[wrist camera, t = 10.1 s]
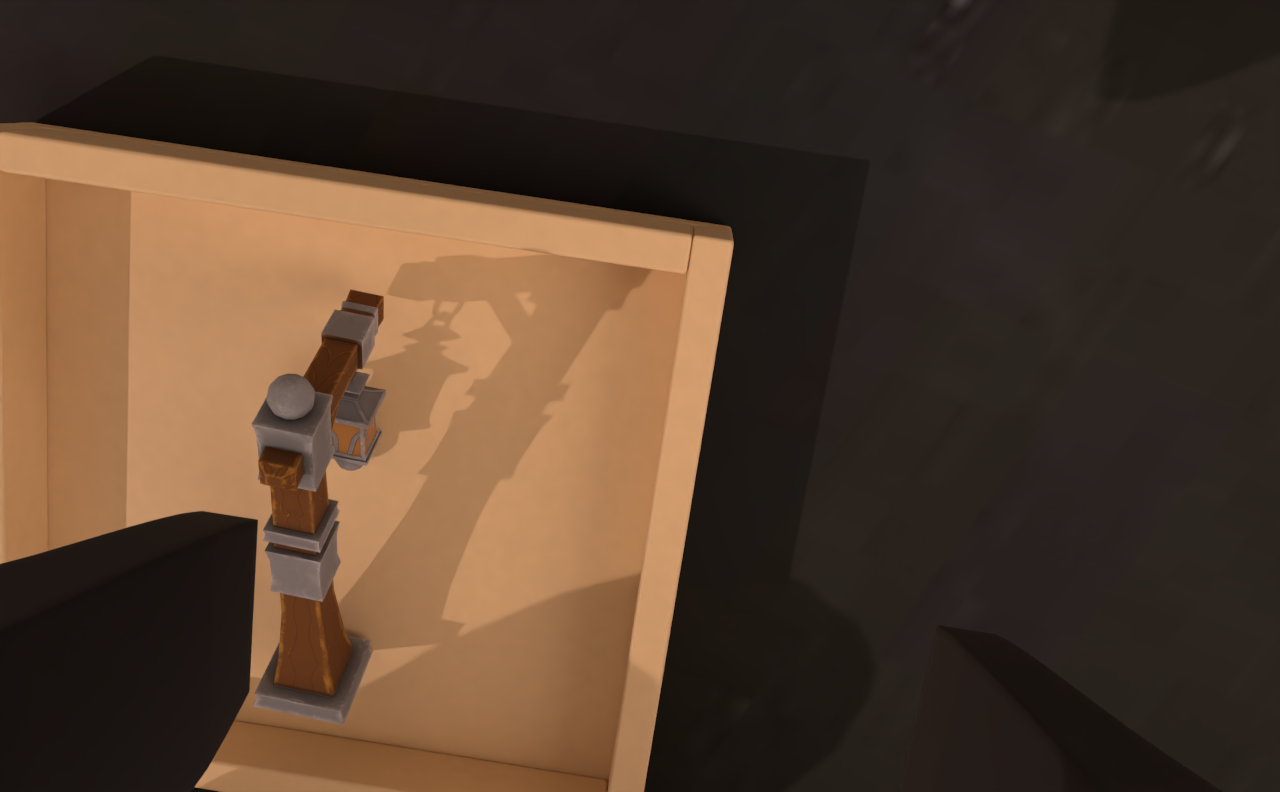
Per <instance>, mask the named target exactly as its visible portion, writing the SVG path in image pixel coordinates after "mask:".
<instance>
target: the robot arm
mask: <svg viewBox="0 0 1280 792" xmlns="http://www.w3.org/2000/svg"><path fill="white" fill-rule="evenodd" d="M257 530H258V520H257V519H251V518H244V517H238V516H231V515H225V514H218V513H212V512H206V511H197V512H189V513H182V514H177V515H173V516H168V517H164V518H160V519H156V520H152V521H149V522H145V523H141V524H138V525H134V526H131V527H127V528H124V529H120V530H117V531H114V532H110V533H107V534H103V535H100V536H97V537H93V538H90V539H86V540H83V541H80V542H76V543H73V544H70V545H66V546H63V547H59V548H56V549H53V550H49V551H46V552H42V553H39V554H36V555H32V556H28V557H25V558H21V559H17V560H13V561H9V562H6V563H2V564H0V792H191V791H192V790H193V788H194V787H195V786H196V784H197V783H198V781H199V780H200V779H201V777H202V776H203V774H204V773H205V772H206V770H207V769H208V767H209V765H210V764H211V762H212V760H213V758H214V757H215V755H216V753H217V751H218V749H219V748H220V746H221V744H222V742H223V741H224V739H225V737H226V735H227V734H228V732H229V730H230V728H231V726H232V724H233V722H234V720H235V718H236V716H237V714H238V713H239V711H240V709H241V707H242V705H243V703H244V701H245V699H246V697H247V695H248V693H249V690H250V670H251V650H252V630H253V610H254V590H255V570H256V550H257ZM898 792H1222V791H1221V790H1219V789H1218V788H1216V787H1215V786H1213V785H1212V784H1210V783H1208V782H1207V781H1205V780H1204V779H1202V778H1201V777H1199V776H1198V775H1196V774H1195V773H1193V772H1192V771H1190V770H1189V769H1187V768H1186V767H1184V766H1183V765H1181V764H1180V763H1178V762H1177V761H1175V760H1174V759H1172V758H1171V757H1169V756H1168V755H1166V754H1165V753H1164V752H1162V751H1161V750H1159V749H1158V748H1156V747H1155V746H1154V745H1152V744H1151V743H1149V742H1148V741H1146V740H1145V739H1144V738H1142V737H1141V736H1139V735H1138V734H1137V733H1135V732H1134V731H1132V730H1131V729H1130V728H1128V727H1127V726H1126V725H1124V724H1123V723H1121V722H1120V721H1119V720H1117V719H1116V718H1115V717H1113V716H1112V715H1111V714H1109V713H1108V712H1106V711H1105V710H1104V709H1102V708H1101V707H1100V706H1098V705H1097V704H1096V703H1094V702H1093V701H1092V700H1090V699H1089V698H1088V697H1086V696H1085V695H1084V694H1082V693H1081V692H1080V691H1078V690H1077V689H1076V688H1074V687H1073V686H1072V685H1070V684H1069V683H1068V682H1066V681H1065V680H1064V679H1062V678H1061V677H1060V676H1058V675H1057V674H1056V673H1054V672H1053V671H1051V670H1050V669H1049V668H1047V667H1046V666H1045V665H1043V664H1042V663H1040V662H1039V661H1038V660H1036V659H1035V658H1033V657H1032V656H1031V655H1029V654H1028V653H1026V652H1025V651H1023V650H1022V649H1020V648H1019V647H1017V646H1016V645H1014V644H1013V643H1011V642H1009V641H1008V640H1006V639H1004V638H1002V637H1000V636H998V635H996V634H989V633H983V632H976V631H970V630H963V629H957V628H951V627H944V626H937V630H936V635H935V639H934V643H933V647H932V651H931V656H930V660H929V664H928V668H927V673H926V677H925V681H924V685H923V689H922V694H921V698H920V702H919V706H918V710H917V715H916V719H915V723H914V727H913V732H912V736H911V740H910V744H909V748H908V753H907V757H906V761H905V765H904V769H903V774H902V778H901V782H900V786H899V791H898Z"/></svg>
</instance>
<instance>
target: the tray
mask: <svg viewBox="0 0 1280 792" xmlns="http://www.w3.org/2000/svg"><path fill="white" fill-rule="evenodd" d="M733 247H734V242H733V236H732V231H731V227H729V226H725V225H718V224H711V223H704V222H698V221H691V220H684V219H678V218H671V217H664V216H657V215H651V214H644V213H637V212H631V211H624V210H617V209H610V208H604V207H597V206H590V205H584V204H577V203H570V202H563V201H557V200H550V199H543V198H537V197H530V196H523V195H516V194H510V193H503V192H496V191H490V190H483V189H476V188H469V187H463V186H456V185H449V184H443V183H436V182H429V181H422V180H416V179H409V178H402V177H396V176H389V175H382V174H375V173H369V172H362V171H355V170H349V169H342V168H335V167H328V166H322V165H315V164H308V163H302V162H295V161H288V160H281V159H275V158H268V157H261V156H255V155H248V154H241V153H234V152H228V151H221V150H214V149H208V148H201V147H194V146H187V145H181V144H174V143H167V142H161V141H154V140H147V139H141V138H134V137H127V136H120V135H114V134H107V133H100V132H94V131H87V130H80V129H73V128H67V127H60V126H53V125H47V124H40V123H33V122H23V123H0V564H2V563H6V562H9V561H13V560H17V559H21V558H25V557H28V556H32V555H36V554H39V553H42V552H46V551H49V550H53V549H56V548H59V547H63V546H66V545H70V544H73V543H76V542H80V541H83V540H86V539H90V538H93V537H97V536H100V535H103V534H107V533H110V532H114V531H117V530H120V529H124V528H127V527H131V526H134V525H138V524H141V523H145V522H149V521H152V520H156V519H160V518H164V517H168V516H173V515H177V514H182V513H189V512H197V511H206V512H212V513H218V514H225V515H231V516H238V517H244V518H251V519H257V520H258V530H257V550H256V570H255V590H254V610H253V630H252V650H251V670H250V690H249V693H248V695H247V697H246V699H245V701H244V703H243V705H242V707H241V709H240V711H239V713H238V714H237V716H236V718H235V720H234V722H233V724H232V726H231V728H230V730H229V732H228V734H227V735H226V737H225V739H224V741H223V742H222V744H221V746H220V748H219V749H218V751H217V753H216V755H215V757H214V758H213V760H212V762H211V764H210V765H209V767H208V769H207V770H206V772H205V773H204V774H203V776H202V777H201V779H200V780H199V781H198V783H197V784H196V786H195V787H196V788H202V789H208V790H214V791H220V792H644V788H645V782H646V776H647V770H648V764H649V758H650V752H651V746H652V740H653V734H654V727H655V721H656V715H657V709H658V703H659V697H660V691H661V685H662V679H663V673H664V667H665V661H666V654H667V648H668V642H669V636H670V630H671V624H672V618H673V612H674V606H675V600H676V594H677V588H678V581H679V575H680V569H681V563H682V557H683V551H684V545H685V539H686V533H687V527H688V521H689V515H690V508H691V502H692V496H693V490H694V484H695V478H696V472H697V466H698V460H699V454H700V448H701V442H702V435H703V429H704V423H705V417H706V411H707V405H708V399H709V393H710V387H711V381H712V375H713V368H714V362H715V356H716V350H717V344H718V338H719V332H720V326H721V320H722V314H723V308H724V302H725V295H726V289H727V283H728V277H729V271H730V265H731V259H732V253H733ZM350 289H351V290H356V291H361V292H365V293H370V294H375V295H380V296H384V320H383V321H382V323H381V324H380V326H379V327H378V333H377V335H376V336H375V346H374V348H373V350H372V352H371V354H370V356H369V358H368V360H367V362H366V364H365V366H364V368H363V370H362V369H358V370H357V371H356V372H361V373H366V374H370V376H369V378H368V380H367V382H366V385H365V386H369V387H374V388H379V389H384V390H386V395H385V397H384V399H383V401H382V403H381V405H380V407H379V409H378V411H377V413H376V419H377V427H378V429H379V430H380V431H382V435H381V437H380V439H379V441H378V444H377V446H376V448H375V450H374V452H373V454H372V456H371V458H370V460H369V462H368V464H367V466H364V465H363V466H362V467H361V468H360V469H357V470H354V471H347V470H345V469H342V468H341V467H340V466H339V465H338V464H337V462H336V461H335V459H331V460H330V463H329V465H328V467H327V469H326V478H327V489H328V499H331V500H336V501H339V502H338V505H337V507H338V510H340V512H339V514H338V516H337V518H336V521H339V522H340V523H339V527H338V531H337V553H338V556H339V558H340V561H341V563H340V565H339V567H338V570H337V572H336V574H335V576H334V578H333V582H334V591H335V595H336V599H337V603H338V606H339V610H340V614H341V618H342V622H343V625H344V629H345V632H346V634H347V636H351V637H356V638H361V639H366V640H371V641H370V643H369V647H370V649H372V650H373V652H372V655H371V657H370V660H369V662H368V665H367V667H366V670H365V673H364V675H363V678H362V680H361V683H360V685H359V688H358V690H357V693H356V695H355V698H354V700H353V703H352V705H351V708H350V710H349V713H348V715H347V718H346V720H345V723H344V725H341V724H337V723H332V722H327V721H322V720H317V719H313V718H308V717H303V716H298V715H293V714H289V713H284V712H279V711H274V710H269V709H265V708H260V707H255V706H253V704H254V702H255V700H256V697H257V695H256V694H254V693H255V691H256V689H257V687H258V685H259V683H260V681H261V679H262V677H263V675H264V673H265V670H266V668H267V666H268V664H269V662H270V660H271V658H272V656H273V654H274V652H275V650H276V648H277V646H278V643H279V641H280V628H281V613H282V611H281V598H280V593H278V592H273V591H270V589H271V583H272V575H271V567H270V560H269V558H268V556H267V554H266V553H265V549H266V547H267V545H268V543H269V542H267V541H263V539H264V537H265V533H264V531H263V529H264V527H265V525H266V523H267V521H268V519H269V518H270V516H271V514H272V504H271V491H270V486H267V485H263V484H260V480H258V475H259V466H258V460H259V456H258V447H257V438H256V433H255V431H254V429H253V427H252V422H253V420H254V419H255V417H256V415H257V413H258V411H259V410H260V408H261V406H262V404H263V402H264V401H265V399H266V397H267V393H268V387H269V385H270V384H271V383H272V382H273V381H274V380H275V379H276V378H277V377H279V376H281V375H284V374H298V375H300V376H302V377H303V376H304V375H305V373H306V371H307V369H308V367H309V366H310V364H311V362H312V360H313V359H314V357H315V355H316V353H317V351H318V350H319V348H320V346H321V344H322V340H321V333H322V331H323V329H324V327H325V326H326V324H327V322H328V320H329V319H330V317H331V315H332V313H333V311H334V310H335V309H336V310H341V305H342V302H343V301H346V299H347V297H348V294H349V292H350Z"/></svg>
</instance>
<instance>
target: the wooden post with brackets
mask: <svg viewBox="0 0 1280 792" xmlns="http://www.w3.org/2000/svg"><path fill="white" fill-rule="evenodd" d="M383 320H384V296H380V295H375V294H370V293H365V292H361V291H356V290H351V289H350V292H349V294H348V297H347V299H346V301H343V302H342V305H341V310H336V309H335V310H334V311H333V313H332V315H331V317H330V319H329V320H328V322H327V324H326V326H325V327H324V329H323V331H322V333H321V340H322V344H321V346H320V348H319V350H318V351H317V353H316V355H315V357H314V359H313V360H312V362H311V364H310V366H309V367H308V369H307V371H306V373H305V375H304V376H303V377H302V376H300V375H298V374H284V375H281V376H279V377H277V378H276V379H275V380H274V381H273V382H272V383H271V384H270V385H269V387H268V393H267V397H266V399H265V401H264V402H263V404H262V406H261V408H260V410H259V411H258V413H257V415H256V417H255V419H254V420H253V422H252V427H253V429H254V431H255V433H256V438H257V447H258V456H259V460H258V466H259V475H258V480H260V484H263V485H267V486H270V491H271V504H272V514H271V516H270V518H269V519H268V521H267V523H266V525H265V527H264V529H263V531H264V533H265V537H264V539H263V541H267V542H269V543H268V545H267V547H266V549H265V553H266V554H267V556H268V558H269V560H270V567H271V575H272V583H271V589H270V591H273V592H278V593H280V598H281V611H282V613H281V628H280V641H279V643H278V646H277V648H276V650H275V652H274V654H273V656H272V658H271V660H270V662H269V664H268V666H267V668H266V670H265V673H264V675H263V677H262V679H261V681H260V683H259V685H258V687H257V689H256V691H255V693H254V694H256V695H257V697H256V700H255V702H254V704H253V706H255V707H260V708H265V709H269V710H274V711H279V712H284V713H289V714H293V715H298V716H303V717H308V718H313V719H317V720H322V721H327V722H332V723H337V724H341V725H344V723H345V720H346V718H347V715H348V713H349V710H350V708H351V705H352V703H353V700H354V698H355V695H356V693H357V690H358V688H359V685H360V683H361V680H362V678H363V675H364V673H365V670H366V667H367V665H368V662H369V660H370V657H371V655H372V652H373V650H372V649H370V647H369V643H370V641H371V640H366V639H361V638H356V637H351V636H347V634H346V632H345V629H344V625H343V622H342V618H341V614H340V610H339V606H338V603H337V599H336V595H335V591H334V582H333V578H334V576H335V574H336V572H337V570H338V567H339V565H340V563H341V561H340V558H339V556H338V553H337V531H338V527H339V523H340V522H339V521H336V518H337V516H338V514H339V512H340V510H338V507H337V505H338V502H339V501H336V500H331V499H328V489H327V478H326V469H327V467H328V465H329V463H330V460H331V459H335V461H336V462H337V464H338V465H339V466H340V467H341V468H342V469H345V470H347V471H354V470H357V469H360V468H361V467H362V466H363V465H364V466H367V464H368V462H369V460H370V458H371V456H372V454H373V452H374V450H375V448H376V446H377V444H378V441H379V439H380V437H381V435H382V431H380V430H379V429H378V427H377V419H376V413H377V411H378V409H379V407H380V405H381V403H382V401H383V399H384V397H385V395H386V390H384V389H379V388H374V387H369V386H365V385H366V382H367V380H368V378H369V376H370V374H366V373H361V372H356V371H357V370H358V369H362V370H363V368H364V366H365V364H366V362H367V360H368V358H369V356H370V354H371V352H372V350H373V348H374V346H375V336H376V335H377V333H378V327H379V326H380V324H381V323H382V321H383Z"/></svg>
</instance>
